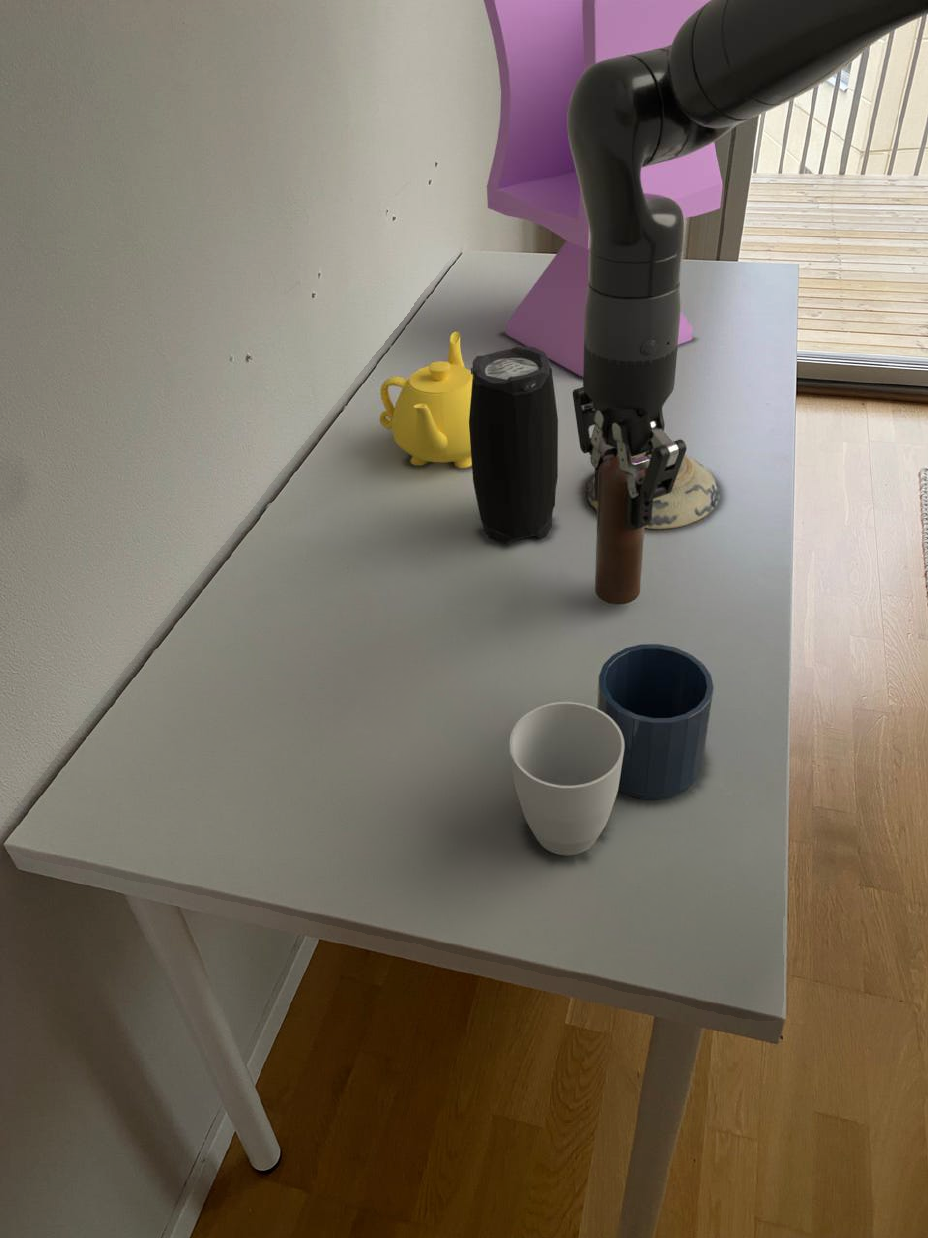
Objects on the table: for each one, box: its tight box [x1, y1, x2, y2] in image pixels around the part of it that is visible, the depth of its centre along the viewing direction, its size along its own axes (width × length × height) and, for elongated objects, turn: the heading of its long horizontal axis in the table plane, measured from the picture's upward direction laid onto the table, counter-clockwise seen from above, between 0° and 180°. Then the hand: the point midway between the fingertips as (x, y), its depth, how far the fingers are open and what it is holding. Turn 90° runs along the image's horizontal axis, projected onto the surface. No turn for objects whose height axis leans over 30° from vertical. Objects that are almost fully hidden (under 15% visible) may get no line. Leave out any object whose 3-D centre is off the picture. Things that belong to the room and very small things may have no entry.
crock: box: [597, 643, 715, 801], centre depth 75 cm, size 9×9×9 cm
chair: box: [483, 0, 724, 378], centre depth 126 cm, size 22×22×45 cm
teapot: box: [379, 331, 473, 469], centre depth 114 cm, size 20×15×12 cm
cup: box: [509, 701, 624, 856], centre depth 70 cm, size 8×8×10 cm
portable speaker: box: [469, 345, 559, 545], centre depth 98 cm, size 9×9×20 cm
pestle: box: [594, 456, 646, 606], centre depth 88 cm, size 4×4×14 cm
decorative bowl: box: [585, 452, 720, 530], centre depth 107 cm, size 15×4×15 cm
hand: (621, 512), depth 87 cm, fingers closed on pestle, 4 cm apart
